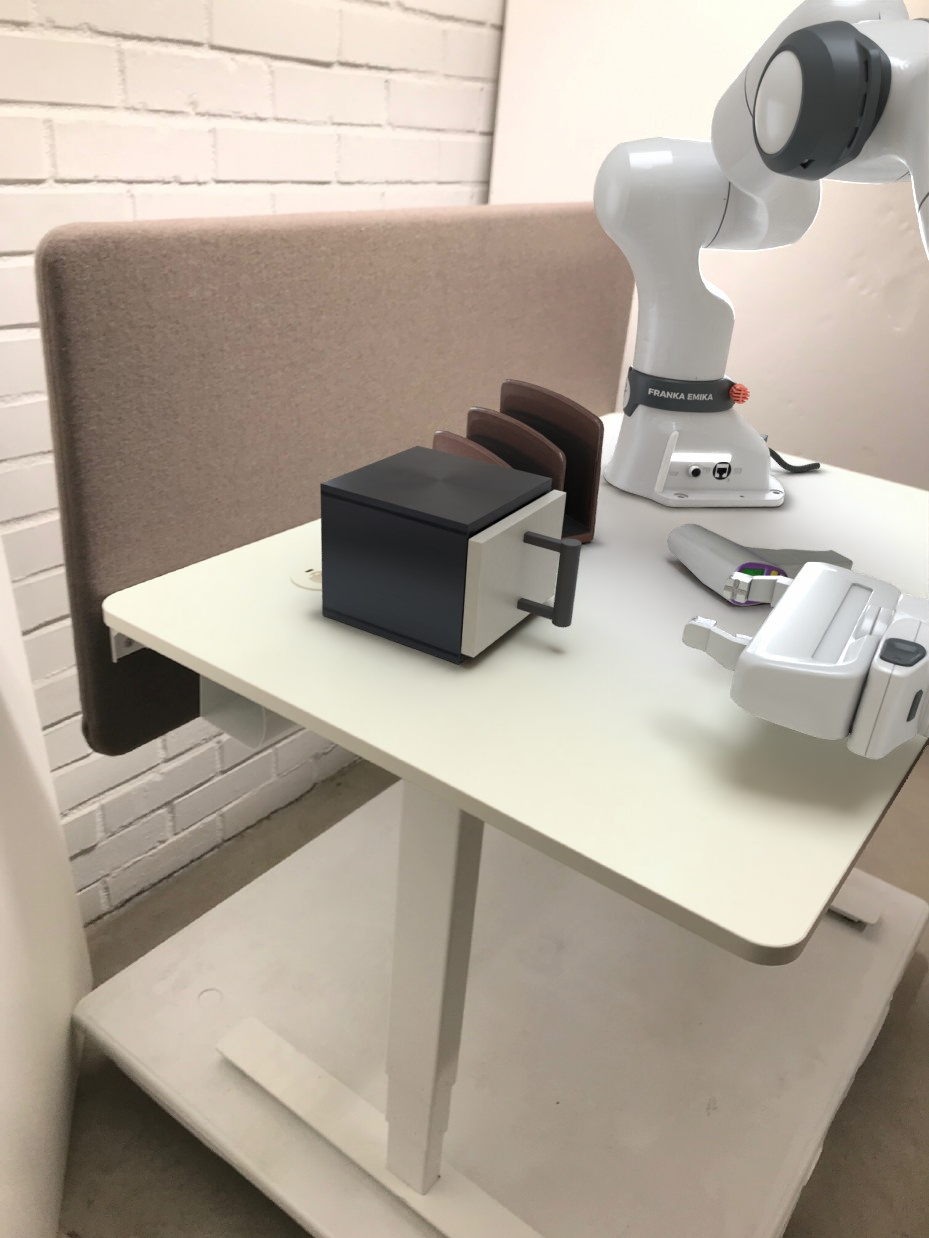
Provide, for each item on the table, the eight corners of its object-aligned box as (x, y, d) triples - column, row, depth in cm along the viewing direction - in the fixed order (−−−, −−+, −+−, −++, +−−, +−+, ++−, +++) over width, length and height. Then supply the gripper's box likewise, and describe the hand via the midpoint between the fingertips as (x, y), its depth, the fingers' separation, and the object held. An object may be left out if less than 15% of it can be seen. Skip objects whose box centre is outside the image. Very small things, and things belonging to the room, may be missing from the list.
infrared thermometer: (851, 599, 90) (732, 610, 84) (769, 552, 100) (657, 559, 93) (865, 557, 88) (745, 565, 82) (780, 513, 98) (667, 517, 91)
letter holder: (499, 484, 112) (508, 369, 105) (594, 543, 97) (612, 412, 90) (427, 493, 107) (432, 374, 101) (515, 556, 92) (528, 420, 86)
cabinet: (538, 603, 83) (552, 478, 77) (459, 664, 72) (468, 524, 67) (412, 563, 89) (417, 445, 84) (322, 615, 78) (320, 483, 73)
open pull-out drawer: (603, 609, 80) (618, 505, 75) (527, 677, 69) (540, 559, 64) (426, 555, 88) (430, 458, 84) (333, 608, 77) (332, 499, 72)
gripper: (938, 569, 67) (754, 525, 73) (898, 685, 51) (667, 617, 57) (914, 643, 70) (738, 595, 76) (869, 775, 54) (652, 700, 60)
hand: (707, 605), depth 67 cm, fingers open, 8 cm apart
